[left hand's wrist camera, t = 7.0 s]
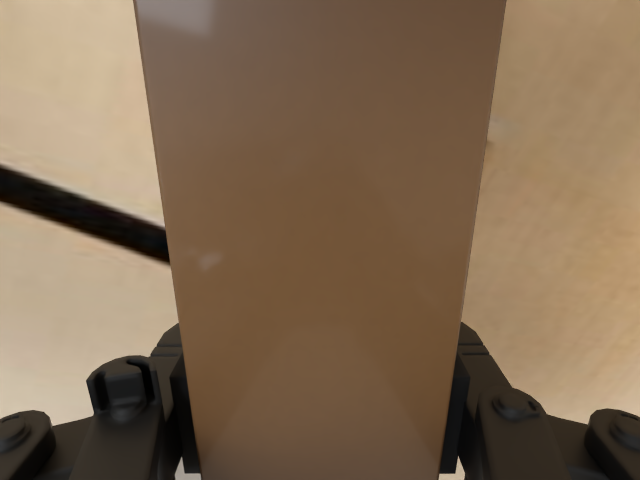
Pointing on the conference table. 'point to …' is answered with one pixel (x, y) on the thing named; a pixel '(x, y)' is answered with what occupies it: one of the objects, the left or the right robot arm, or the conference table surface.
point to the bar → (319, 222)
